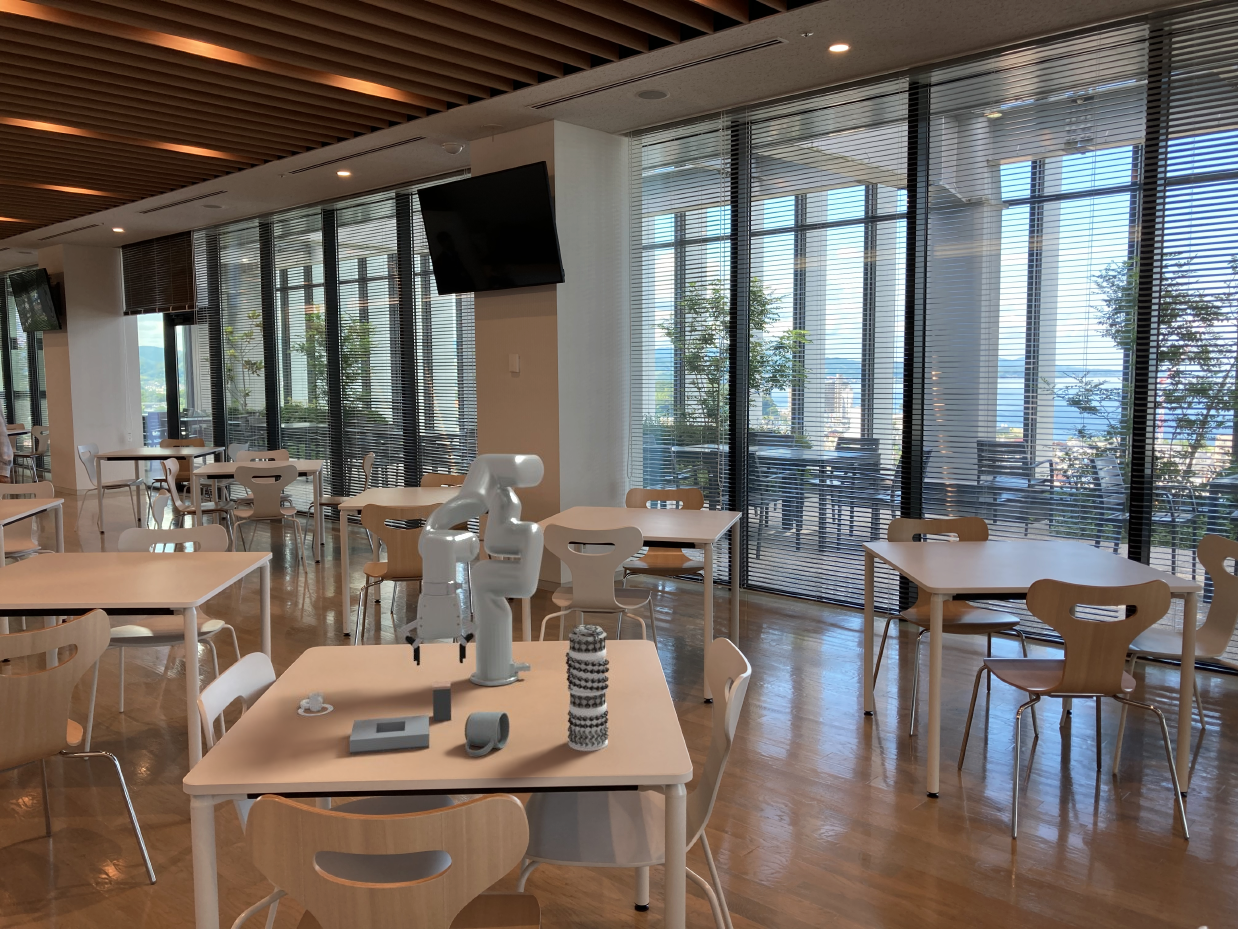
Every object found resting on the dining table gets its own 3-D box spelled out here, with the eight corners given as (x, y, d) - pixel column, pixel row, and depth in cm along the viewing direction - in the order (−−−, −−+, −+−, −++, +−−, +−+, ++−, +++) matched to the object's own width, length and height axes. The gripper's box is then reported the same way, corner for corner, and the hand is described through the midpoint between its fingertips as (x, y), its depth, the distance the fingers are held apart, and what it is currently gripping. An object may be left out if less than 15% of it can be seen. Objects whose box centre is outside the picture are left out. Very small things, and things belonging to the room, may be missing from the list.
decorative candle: (559, 740, 192) (557, 625, 191) (597, 732, 197) (596, 620, 195) (578, 754, 184) (577, 634, 183) (617, 746, 189) (616, 629, 187)
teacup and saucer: (297, 707, 216) (296, 691, 215) (331, 703, 219) (331, 687, 218) (298, 719, 208) (298, 702, 207) (334, 715, 211) (334, 697, 210)
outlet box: (428, 728, 200) (428, 714, 200) (429, 747, 189) (428, 733, 188) (354, 733, 197) (354, 720, 197) (349, 754, 185) (349, 740, 185)
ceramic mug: (476, 737, 194) (475, 704, 194) (510, 741, 192) (509, 707, 192) (456, 756, 184) (455, 721, 184) (492, 760, 183) (491, 724, 182)
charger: (450, 714, 209) (450, 680, 209) (451, 720, 205) (450, 686, 205) (433, 715, 208) (432, 682, 208) (433, 721, 204) (432, 687, 204)
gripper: (476, 584, 210) (477, 657, 211) (400, 587, 207) (401, 661, 207) (478, 590, 203) (479, 665, 204) (400, 592, 199) (400, 669, 200)
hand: (439, 663), depth 205 cm, fingers open, 9 cm apart
